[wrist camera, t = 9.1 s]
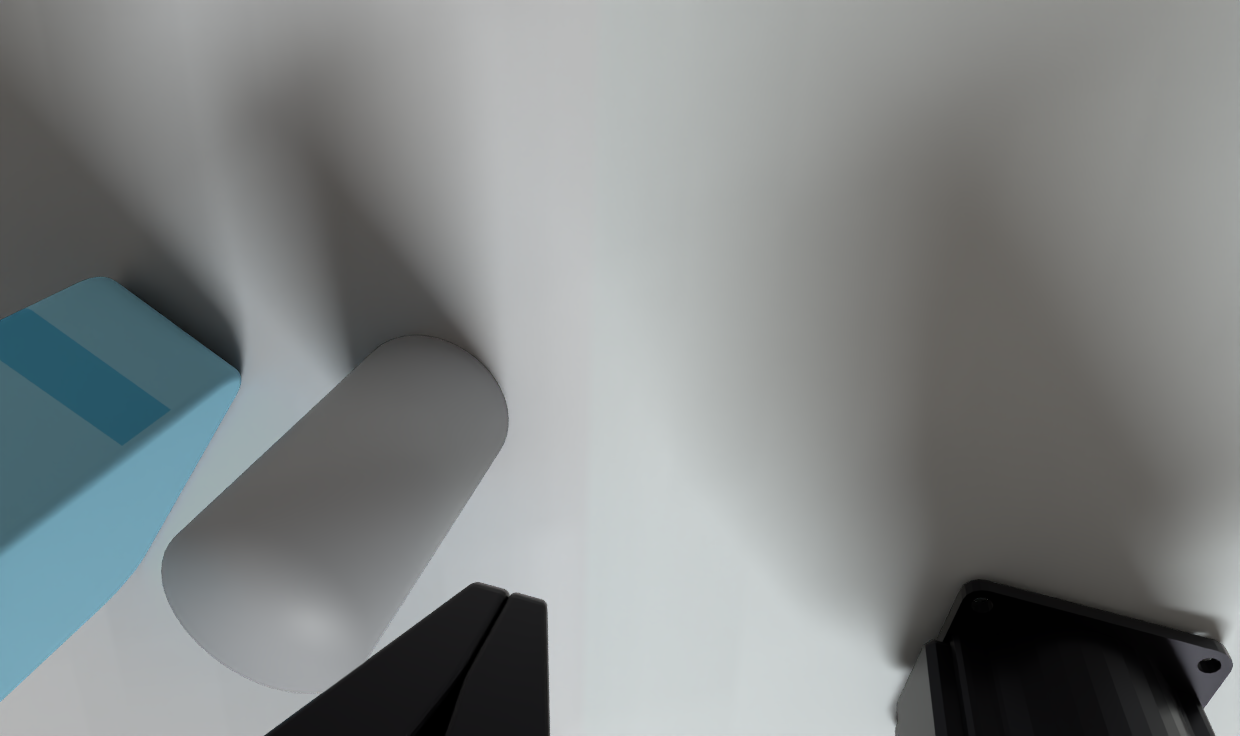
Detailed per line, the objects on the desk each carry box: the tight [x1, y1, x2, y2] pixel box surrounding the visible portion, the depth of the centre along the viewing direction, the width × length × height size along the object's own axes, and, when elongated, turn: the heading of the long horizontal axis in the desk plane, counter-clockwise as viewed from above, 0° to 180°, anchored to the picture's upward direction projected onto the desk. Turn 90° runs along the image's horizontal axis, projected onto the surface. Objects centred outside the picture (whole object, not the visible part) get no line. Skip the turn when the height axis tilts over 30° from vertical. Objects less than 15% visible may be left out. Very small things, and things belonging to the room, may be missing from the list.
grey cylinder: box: [161, 335, 508, 694], centre depth 20 cm, size 4×4×8 cm
